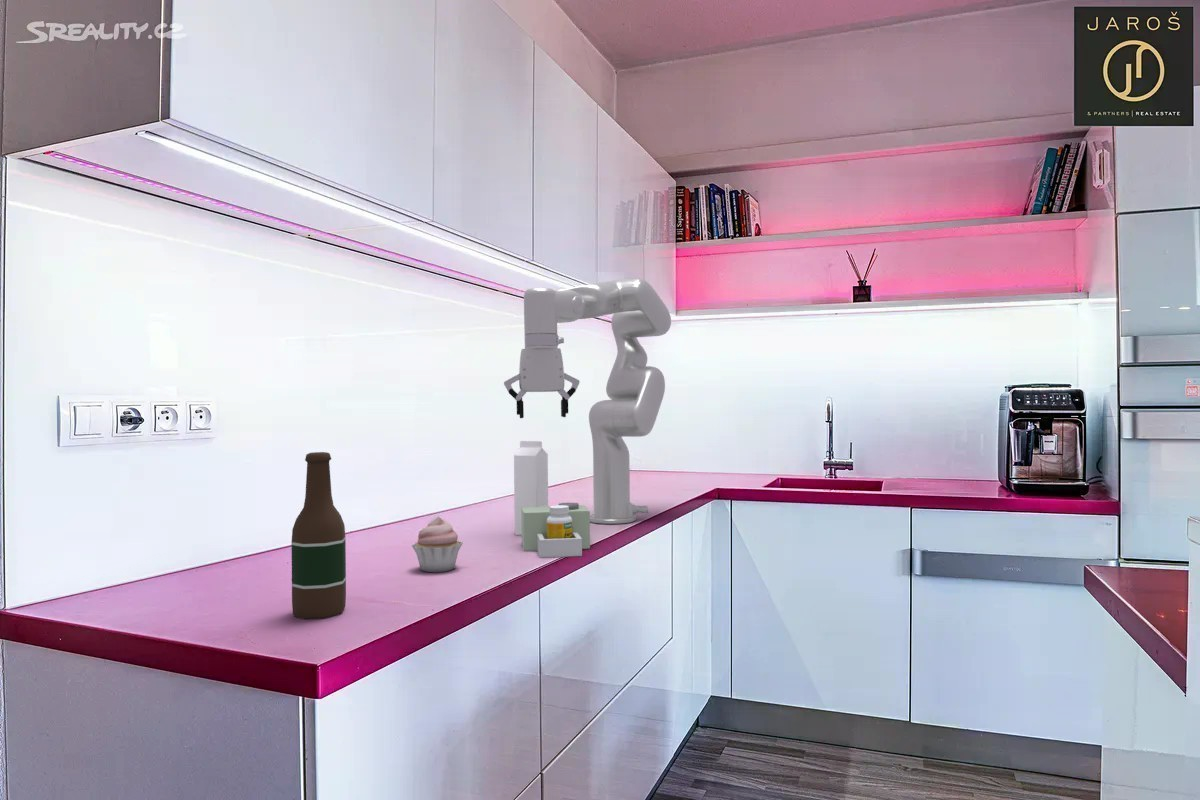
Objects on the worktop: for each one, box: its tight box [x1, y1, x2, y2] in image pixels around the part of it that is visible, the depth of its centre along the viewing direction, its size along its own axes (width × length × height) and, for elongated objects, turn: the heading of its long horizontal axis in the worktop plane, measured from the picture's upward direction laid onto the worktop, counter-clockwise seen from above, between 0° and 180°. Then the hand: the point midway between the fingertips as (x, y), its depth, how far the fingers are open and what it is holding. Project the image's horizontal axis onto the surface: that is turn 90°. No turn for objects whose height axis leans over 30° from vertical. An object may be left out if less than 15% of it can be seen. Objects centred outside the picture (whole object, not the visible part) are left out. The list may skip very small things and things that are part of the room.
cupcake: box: [411, 515, 464, 573], centre depth 143 cm, size 9×9×10 cm
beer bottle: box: [291, 451, 347, 620], centre depth 114 cm, size 8×8×24 cm
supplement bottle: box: [547, 504, 572, 539], centre depth 158 cm, size 5×5×10 cm
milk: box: [513, 440, 549, 536], centre depth 181 cm, size 6×6×22 cm
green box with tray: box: [521, 502, 591, 559], centre depth 162 cm, size 14×16×9 cm
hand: (542, 417), depth 174 cm, fingers open, 9 cm apart
